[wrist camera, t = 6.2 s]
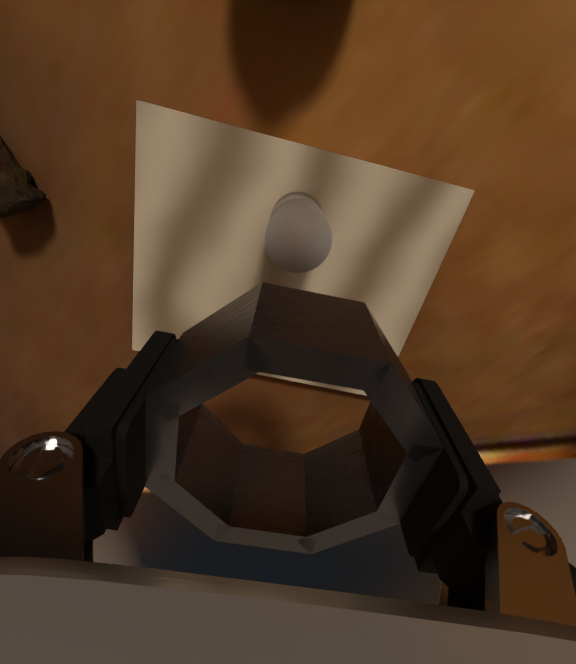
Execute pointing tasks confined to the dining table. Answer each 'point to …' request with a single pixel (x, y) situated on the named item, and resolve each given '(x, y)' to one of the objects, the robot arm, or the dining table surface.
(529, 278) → the dining table surface
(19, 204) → the hand tool
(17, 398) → the dining table surface
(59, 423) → the dining table surface
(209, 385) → the ring
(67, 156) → the dining table surface
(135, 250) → the board
